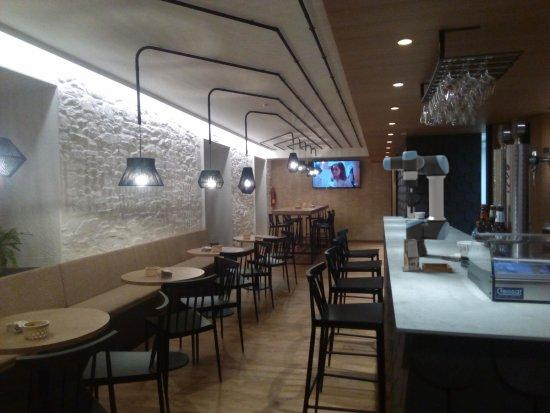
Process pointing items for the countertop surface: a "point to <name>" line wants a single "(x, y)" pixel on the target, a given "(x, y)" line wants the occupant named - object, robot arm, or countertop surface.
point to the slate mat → (411, 270)
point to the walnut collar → (436, 268)
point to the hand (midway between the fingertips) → (410, 218)
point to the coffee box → (411, 254)
